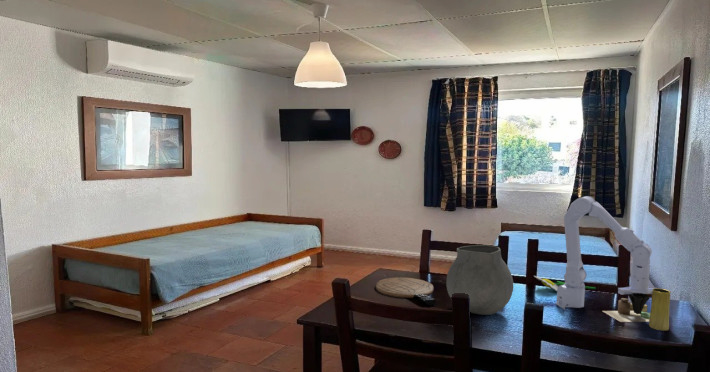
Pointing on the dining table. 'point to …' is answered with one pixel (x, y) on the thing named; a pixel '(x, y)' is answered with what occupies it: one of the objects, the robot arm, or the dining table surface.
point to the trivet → (404, 287)
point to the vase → (660, 309)
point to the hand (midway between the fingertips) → (637, 313)
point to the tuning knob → (627, 306)
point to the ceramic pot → (481, 278)
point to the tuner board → (629, 316)
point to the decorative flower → (555, 284)
